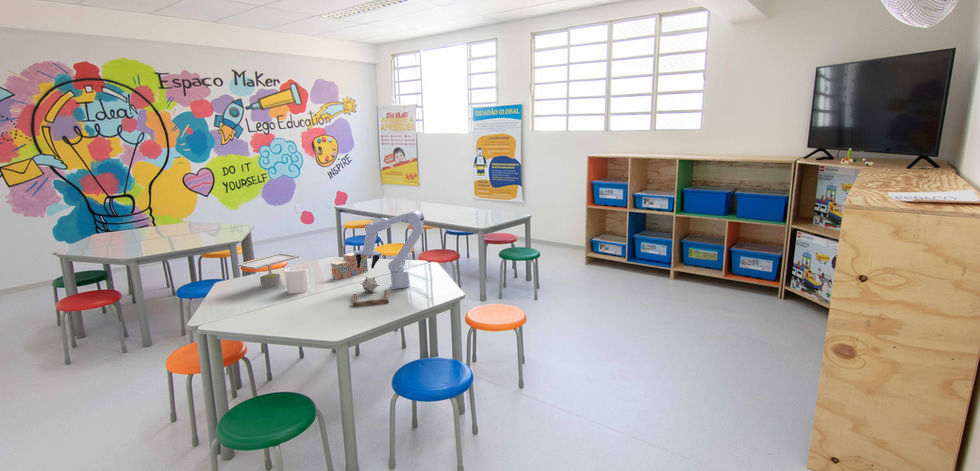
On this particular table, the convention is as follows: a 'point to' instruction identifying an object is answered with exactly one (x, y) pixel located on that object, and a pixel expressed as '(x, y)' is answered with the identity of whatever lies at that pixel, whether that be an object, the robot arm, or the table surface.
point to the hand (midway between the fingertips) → (365, 267)
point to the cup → (297, 279)
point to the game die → (369, 284)
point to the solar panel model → (269, 279)
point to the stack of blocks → (348, 266)
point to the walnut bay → (370, 301)
